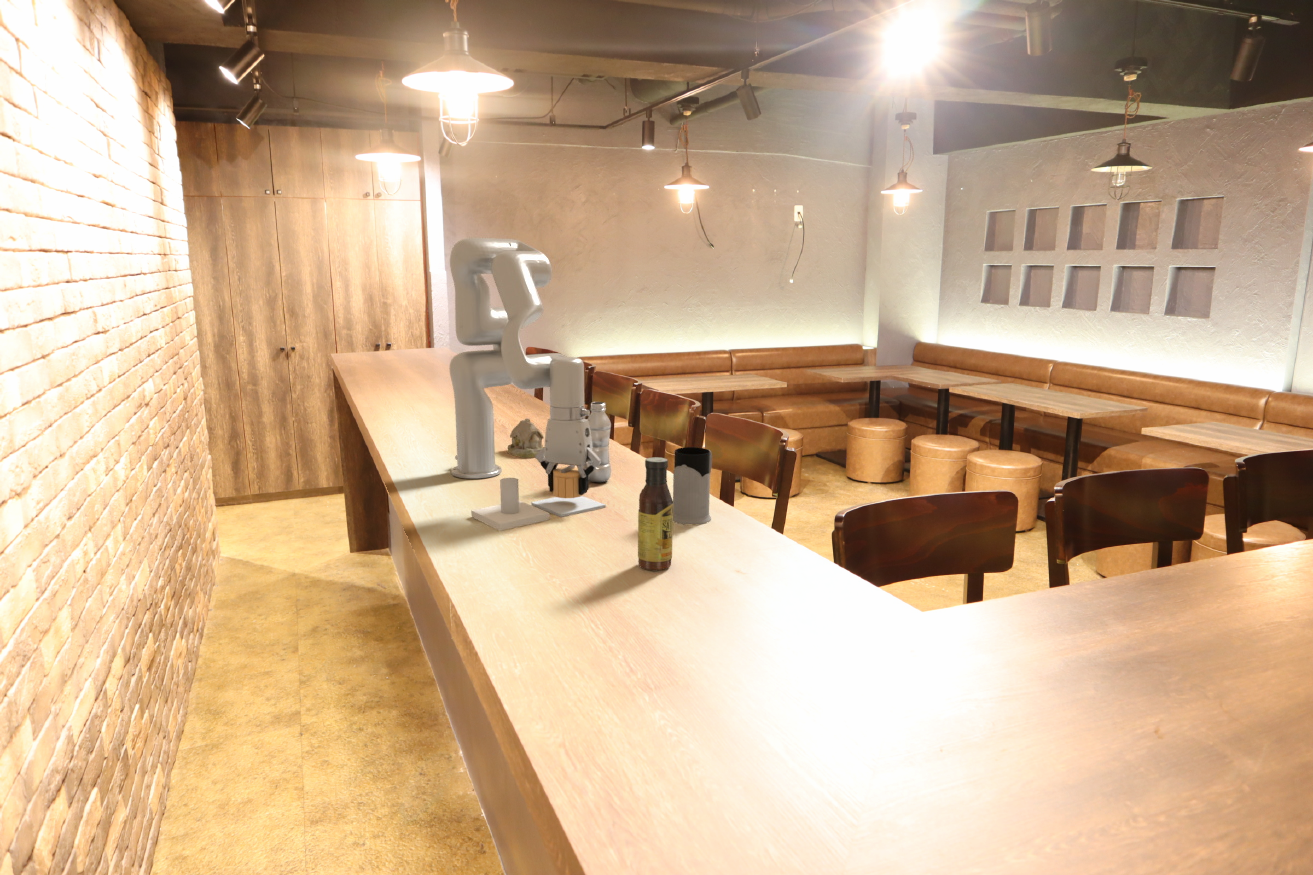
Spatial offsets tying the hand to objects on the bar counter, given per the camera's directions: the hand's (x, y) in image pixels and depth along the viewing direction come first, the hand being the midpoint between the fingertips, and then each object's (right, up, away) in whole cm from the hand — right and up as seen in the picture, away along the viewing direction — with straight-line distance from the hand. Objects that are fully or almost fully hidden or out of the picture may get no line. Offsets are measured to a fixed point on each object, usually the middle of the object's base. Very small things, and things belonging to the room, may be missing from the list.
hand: (568, 491), depth 186 cm
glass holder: (+29, -5, -5) cm, 29 cm away
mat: (0, -3, +1) cm, 3 cm away
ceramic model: (-17, +7, +53) cm, 56 cm away
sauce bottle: (+20, -12, -35) cm, 42 cm away
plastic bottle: (+5, +1, +22) cm, 23 cm away
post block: (-11, -5, -9) cm, 15 cm away
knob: (0, -1, 0) cm, 1 cm away
